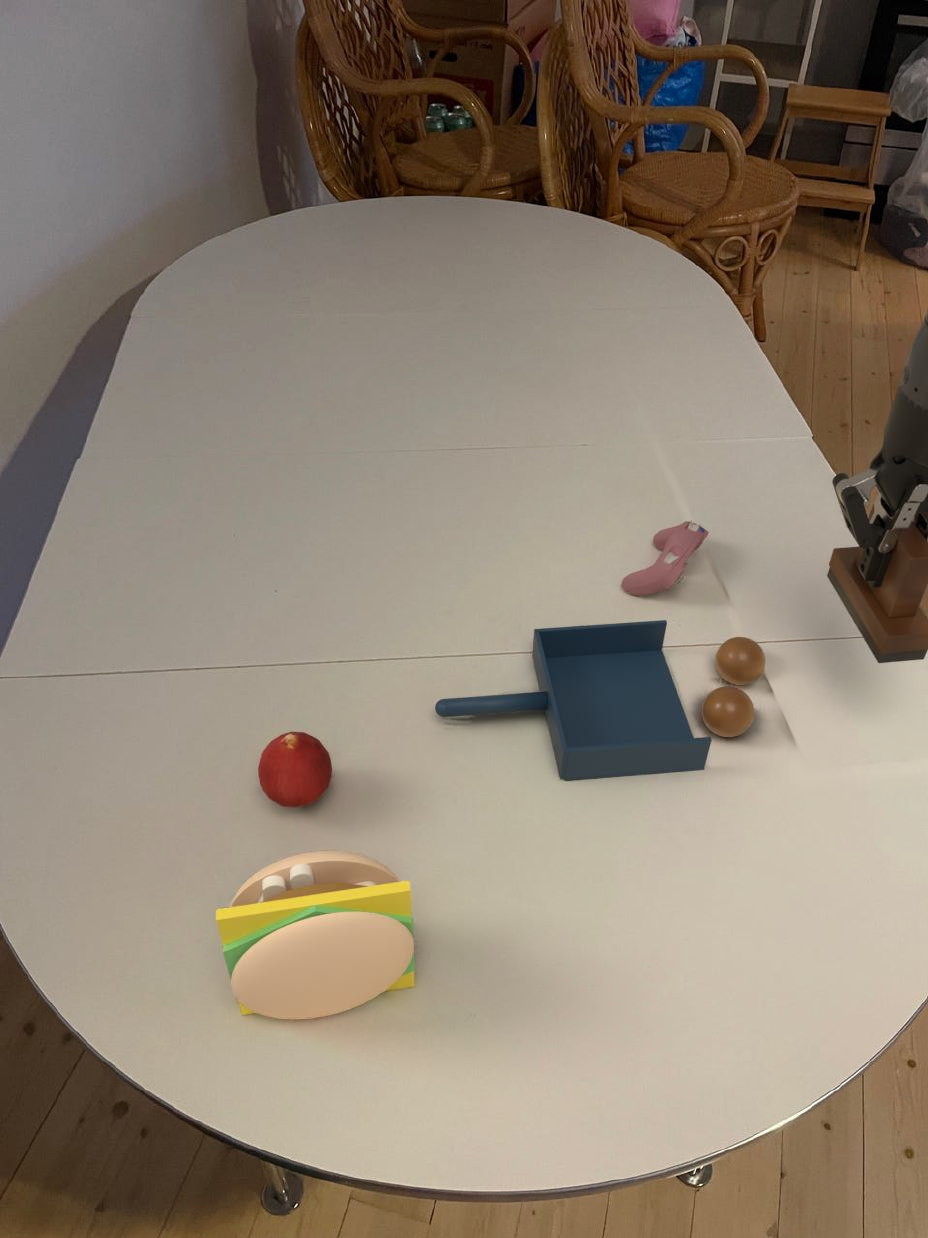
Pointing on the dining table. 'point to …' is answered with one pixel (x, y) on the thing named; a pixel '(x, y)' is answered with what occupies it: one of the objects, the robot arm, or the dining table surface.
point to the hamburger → (318, 935)
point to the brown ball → (740, 660)
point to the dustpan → (603, 702)
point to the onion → (295, 769)
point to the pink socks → (667, 559)
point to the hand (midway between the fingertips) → (887, 578)
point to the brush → (887, 597)
